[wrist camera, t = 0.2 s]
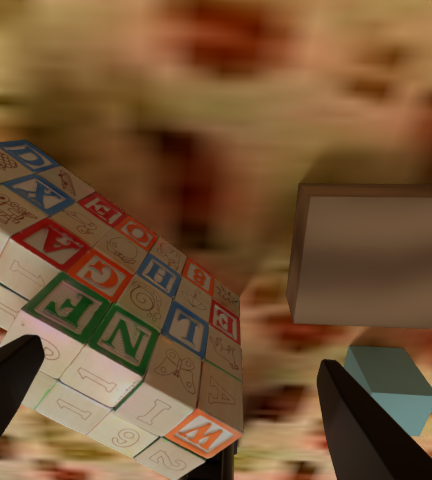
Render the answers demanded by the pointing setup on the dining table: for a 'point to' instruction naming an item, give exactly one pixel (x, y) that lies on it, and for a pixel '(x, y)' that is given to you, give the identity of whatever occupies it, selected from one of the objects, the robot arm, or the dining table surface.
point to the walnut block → (362, 255)
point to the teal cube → (392, 384)
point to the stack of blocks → (116, 321)
